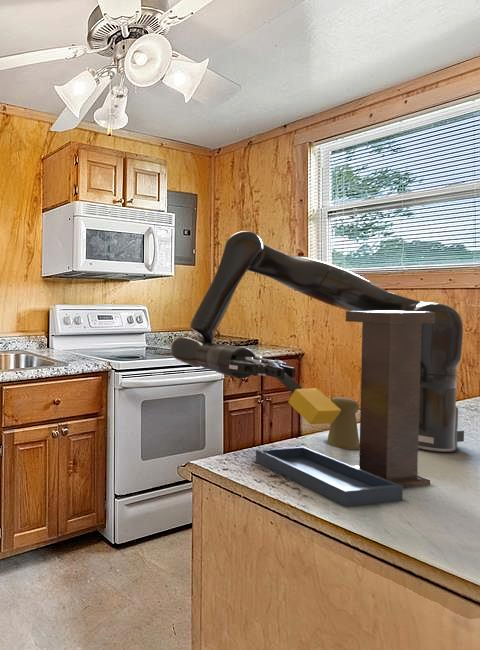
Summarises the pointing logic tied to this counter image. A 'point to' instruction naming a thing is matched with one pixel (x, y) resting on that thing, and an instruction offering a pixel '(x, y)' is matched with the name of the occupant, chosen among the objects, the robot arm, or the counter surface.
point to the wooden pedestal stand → (390, 393)
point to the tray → (330, 476)
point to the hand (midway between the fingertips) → (288, 373)
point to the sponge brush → (309, 402)
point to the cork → (344, 425)
